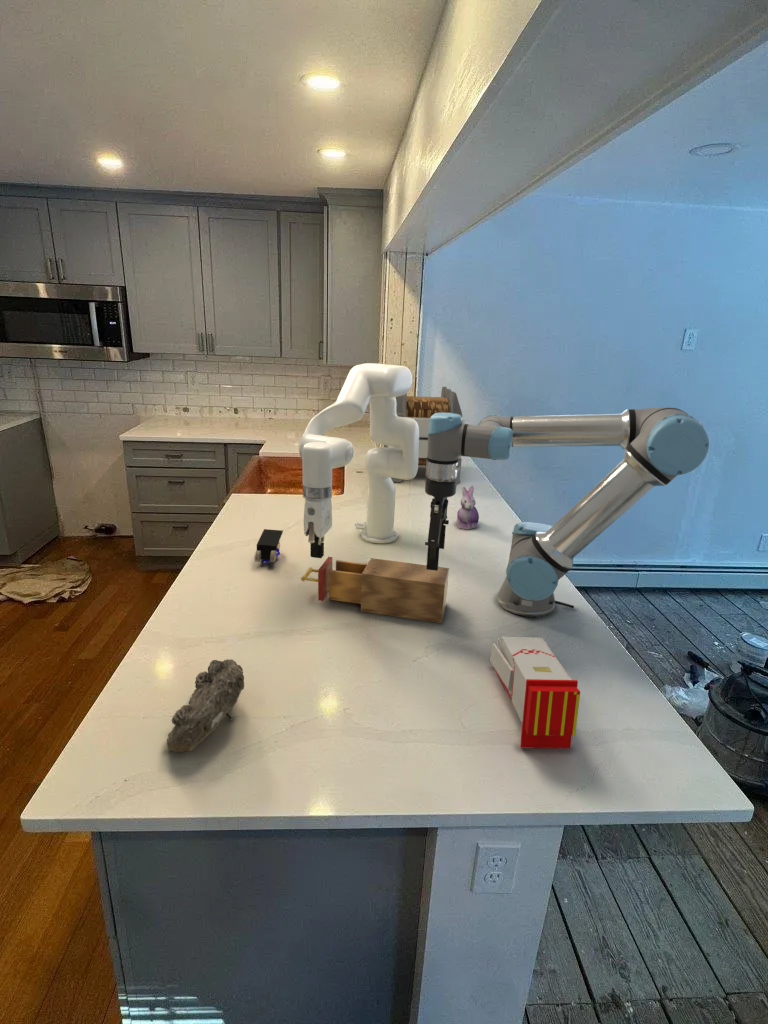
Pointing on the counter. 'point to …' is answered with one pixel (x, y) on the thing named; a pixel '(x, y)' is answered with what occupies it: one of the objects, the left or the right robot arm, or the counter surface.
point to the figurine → (467, 510)
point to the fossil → (206, 705)
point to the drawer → (338, 580)
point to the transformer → (426, 418)
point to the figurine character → (268, 546)
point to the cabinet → (404, 590)
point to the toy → (537, 691)
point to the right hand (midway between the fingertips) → (435, 558)
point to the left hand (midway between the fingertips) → (317, 556)
